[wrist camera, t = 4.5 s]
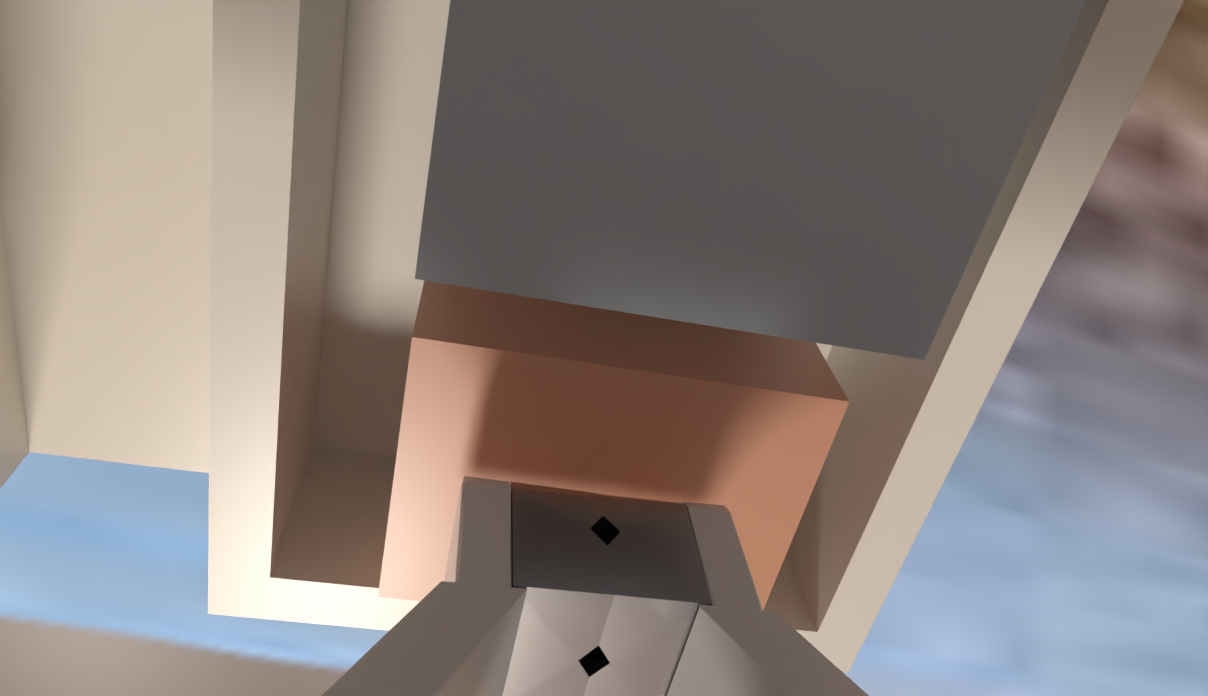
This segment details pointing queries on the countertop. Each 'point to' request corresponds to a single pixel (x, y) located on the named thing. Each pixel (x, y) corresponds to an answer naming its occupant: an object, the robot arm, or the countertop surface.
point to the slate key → (733, 156)
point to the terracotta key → (602, 420)
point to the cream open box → (395, 285)
